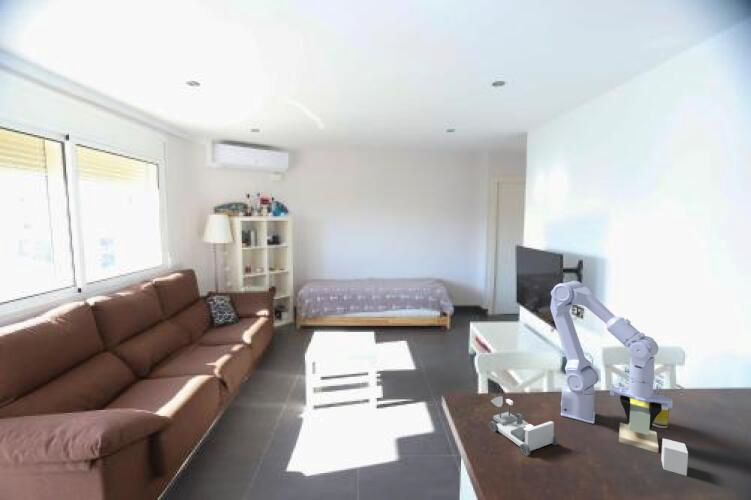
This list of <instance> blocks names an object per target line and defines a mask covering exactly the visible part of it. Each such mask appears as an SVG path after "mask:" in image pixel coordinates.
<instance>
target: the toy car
mask: <svg viewBox="0 0 751 500" xmlns="http://www.w3.org/2000/svg"><path fill="white" fill-rule="evenodd" d="M493 396H494V398H492V399H491V400H490V402H491V403H492V404H493V405H494V406H495V407H498V408H499V414H495V415H493V416H492V417H493V418H492V419H493V420H494V421H493V420H492V421H489V423H488V426H489V429H490V430H491V431H493V432H494V433H496V432H497V431H498V432H499V433H500V434H502V435H503V436H504V437H506V438H508V440H510V441H511V442H513V443H515V444H516V445H517V446H518V447H519V449H520V452H521V453H522V454H523V455H525V456H526V457H528V456H531V452H532V451H534V450H536V449H540V448H542V447H544V446H547V445H550V444H551V445H552V446H557V445H558V444H559V439H558V437H557V436H556V435H555V434H554V430H555V429H554V428H555V426H554V425H555V423H554V421H552V420H549V421H545V422H544V423H541V424H538V425H535V426H534V425H533V424H531V423H528V422H527V421H525V419H524V416H523V415H522V414H521V413H519V412H518V413H516V414H515V415H513V414H512V413H511V406H513V405H514V401H513V400H511V399H510V398H505V403H506V404H508V411H506V412H502V406H503V401H504V400H503V398H504V397H503V395H499V396H497V394H496V393H494V394H493ZM496 422H497V423H496Z"/></svg>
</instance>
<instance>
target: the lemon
mask: <svg viewBox="0 0 751 500" xmlns="http://www.w3.org/2000/svg"><path fill="white" fill-rule="evenodd" d="M630 404H633V405H638V406H642V407H647V408H649V404H648V403H647V402H640V401H637V400H635V399H631V398H630Z"/></svg>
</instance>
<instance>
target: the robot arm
mask: <svg viewBox="0 0 751 500" xmlns="http://www.w3.org/2000/svg"><path fill="white" fill-rule="evenodd" d="M550 295H551V301H550V311H551V316H552V318H553V321H554V325H555V327H556V332H557V333H558V337H559V339H560V342H561V346H562V349H563V352H564V355H565V359H566V364H565V367H564V370H565V382H566V385H565V384H563V385H562V388H561V401H560V407H561V408H560V416H561V417H566V418H569V419H572V420H573V419H574V420H577V421H580V422H585V423H589V424H593V425H594V424H595V420H596V419H595V417H596V411H594V410H595V409H594V407H595V385H596V384H597V383H598V382H599V374H598V372H597V371H596V370H595V369H594V367H593V365H592V363H591V361H589V359H588V358H586V357H585V353H584V351H583V348H582V344H581V342H580V338H579V336H578V334H577V333H578V332H577V330H576V327H575V325H574V324H575V323H574V322H573V318H572V315H571V312H570V311H571V309H572V307H573V306H574V305H578V306H583V307H586V309H588V310H589V311H590V312H591V313H592V314H593V315H595V316H596V317H598V318H599V319H600V320H601V321H603V323H605V324H606V330H607V331H608V332H609V333H610V334H611V335H612V336H614V338H616V339H617V340H618V342H620V344H622V345H623V346H625V347H626V351H627V353H628V355H629V357H630V360H629V372H628V373H629V374H628V375H629V377H628V388H625V387H616V386H610V389H609V390H610V391H609V395H610V396H612V397H613V396H618V397H619V400H620V403H621V405H622V407H623V410H624V413H625V414H624V415H625V417H626V424H629V421H630V398H631V399H635V400H637V401H640V402H645V403H649V404H648V406H649V412H650V427H649V429H652V426H653V425H652V424H653V422H654V420H655V418H656V417H657V415H658V414H659V413H660V412H661V410H662V407H661V405H664V406H667V407H669V409H673V403H674V402H673V398H669V397H666V396H662V395H659V394H656V393H654V383H655V382H654V380H655V358H656V357H655V355H656V354H658V352H659V346H658V343H657V341H656V340H655V339H654V338H652V337H651V336H649V335H645V334H644V333H643V332H640V331H639V329H637V328H636V327H635V326H633V325H632V324H631V320H629V319H628V318H626V319H625V318H624V317H622V316H616V315H615V314H614V313H613V312H612V311H611V310H610V309H608V308H607V307H606V306H605V305H604V304H603V303H602V302H601V301H600V300H599V299H598V298H597V297H596V296H595V295H594V294H593V293H592V291H591V290H590V289H589V288H588V287H587V286H585V285H584V284H583V283H582V282H580V281H579V280H578V281H577V280H571V281H569V282H563V283H561V282H560V283H557V284H556V285H554V287H553V289H552V290H551V291H550Z"/></svg>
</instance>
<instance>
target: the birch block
mask: <svg viewBox="0 0 751 500" xmlns="http://www.w3.org/2000/svg"><path fill="white" fill-rule="evenodd" d="M618 442H619V443H622V444H626V445H629V446H633V447H637V448H640V449H644V450H647V451H650V452H654V453H658V454H659V440H658V435H657V431H654V430H650V429H649V435H646V434H642V433H638V432H634V431H630V430H629V424H628V423H622V422H619V434H618Z"/></svg>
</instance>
